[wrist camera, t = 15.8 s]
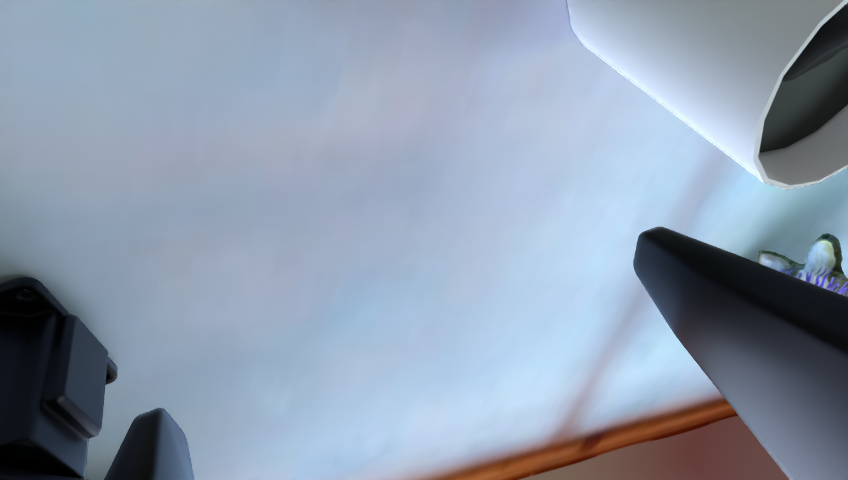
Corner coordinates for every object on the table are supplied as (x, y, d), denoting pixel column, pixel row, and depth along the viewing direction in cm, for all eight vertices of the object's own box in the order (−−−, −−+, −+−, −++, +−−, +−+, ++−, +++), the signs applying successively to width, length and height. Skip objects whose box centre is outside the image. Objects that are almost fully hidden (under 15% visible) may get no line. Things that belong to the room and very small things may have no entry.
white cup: (525, 14, 21) (712, 139, 14) (647, -163, 19) (950, -121, 12) (620, 89, 25) (804, 216, 18) (731, -49, 23) (996, 35, 15)
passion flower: (679, 227, 43) (819, 235, 31) (797, 227, 45) (968, 234, 33) (674, 370, 44) (809, 430, 32) (790, 362, 46) (956, 416, 34)
